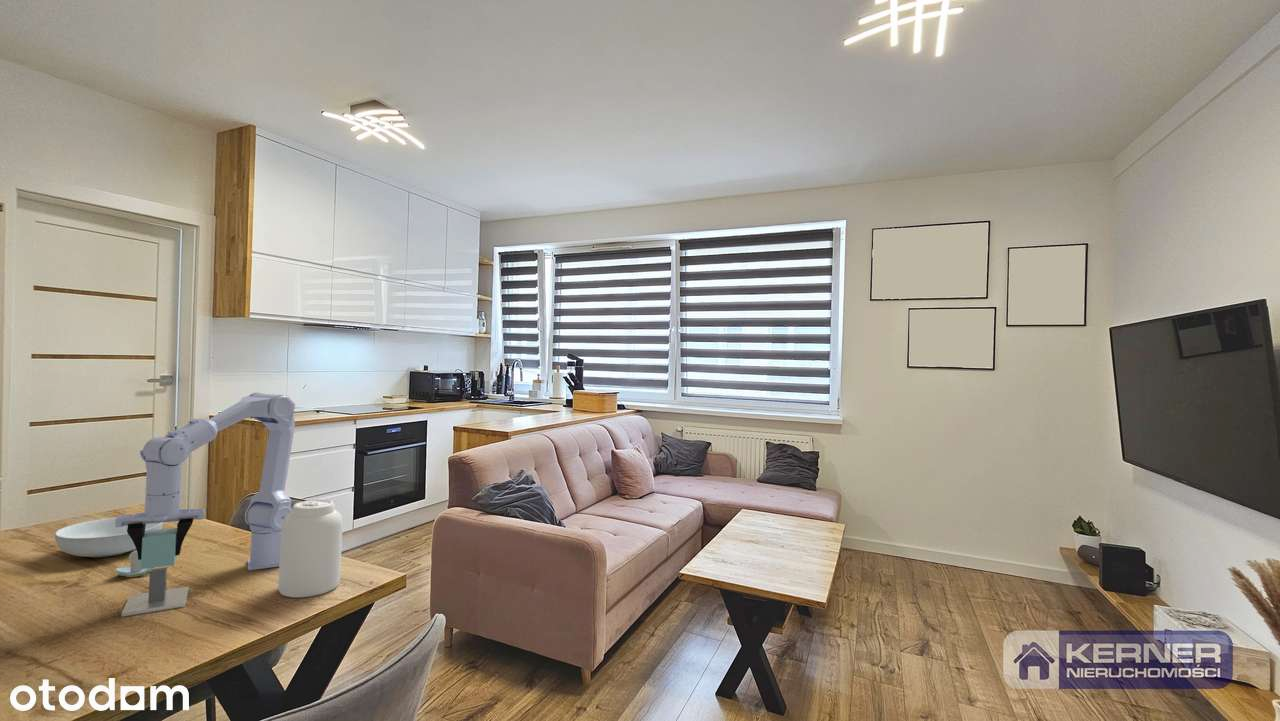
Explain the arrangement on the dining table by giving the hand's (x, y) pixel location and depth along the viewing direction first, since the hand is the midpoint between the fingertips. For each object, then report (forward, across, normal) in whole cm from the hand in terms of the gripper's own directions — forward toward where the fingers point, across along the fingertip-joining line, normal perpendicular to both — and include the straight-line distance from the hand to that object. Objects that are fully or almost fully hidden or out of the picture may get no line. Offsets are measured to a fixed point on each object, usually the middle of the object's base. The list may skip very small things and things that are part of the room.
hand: (159, 556), depth 122 cm
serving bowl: (+10, -14, +44) cm, 47 cm away
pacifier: (+10, -6, +22) cm, 25 cm away
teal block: (+2, 0, 0) cm, 2 cm away
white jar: (+10, +28, -6) cm, 30 cm away
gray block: (+10, 0, 0) cm, 10 cm away
